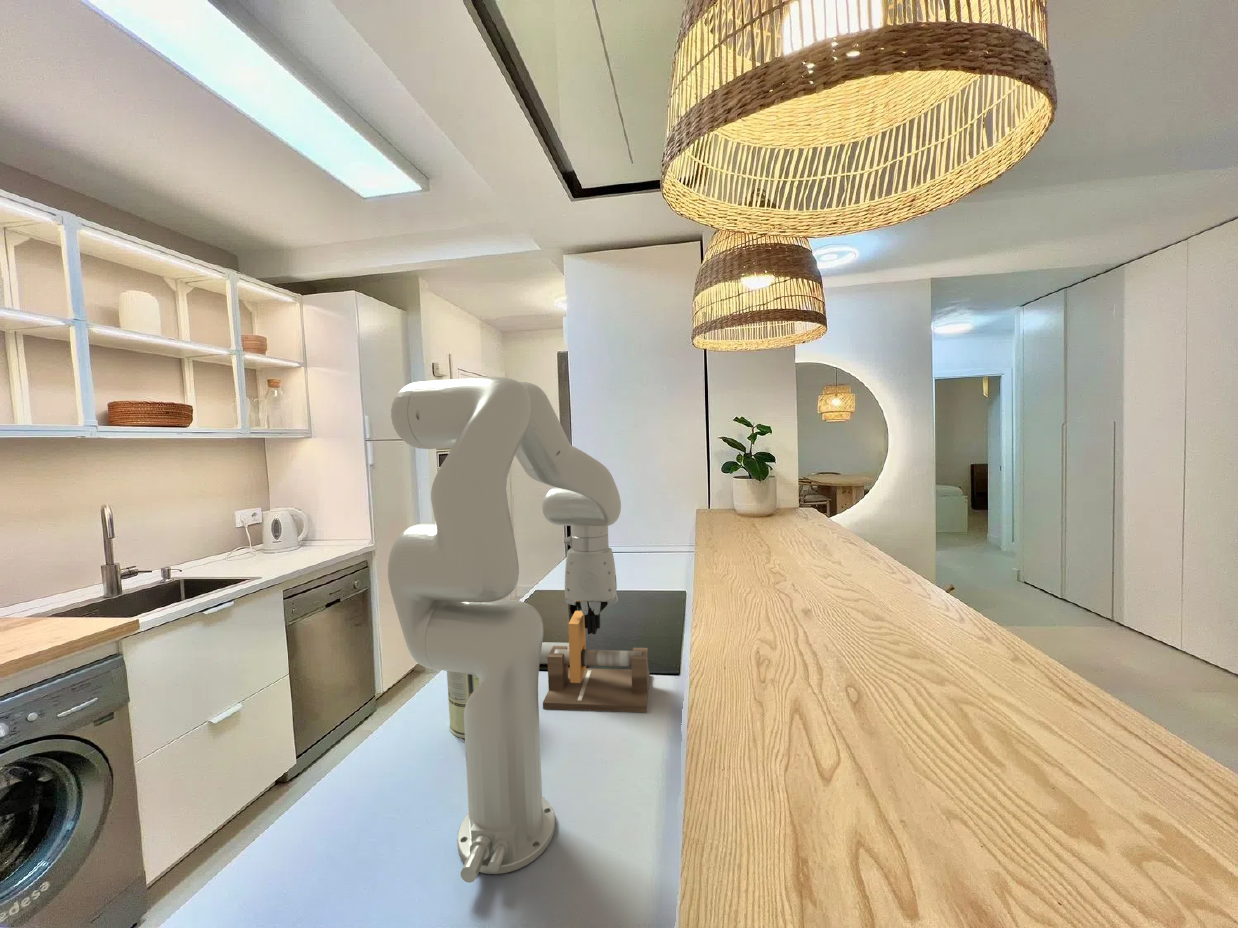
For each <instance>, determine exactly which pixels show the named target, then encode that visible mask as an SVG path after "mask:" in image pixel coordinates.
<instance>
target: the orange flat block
mask: <svg viewBox="0 0 1238 928" xmlns="http://www.w3.org/2000/svg"><path fill="white" fill-rule="evenodd" d="M567 625H568V627H567V628H568V643H569V657H570V665H569V668H570V683H580V682H581V679H582V677H583V674H584V671H585V669H586V668H587V666H581V651H582V649H586V650H587V645H586V642H587V641H586V640H587V639H586V638H587V637H586V628H585V621H584V614H583V613H582V611H581V610H575V611H574V613H573V615H572V616H571V618H570V620H569V622H568V624H567Z"/></svg>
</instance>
